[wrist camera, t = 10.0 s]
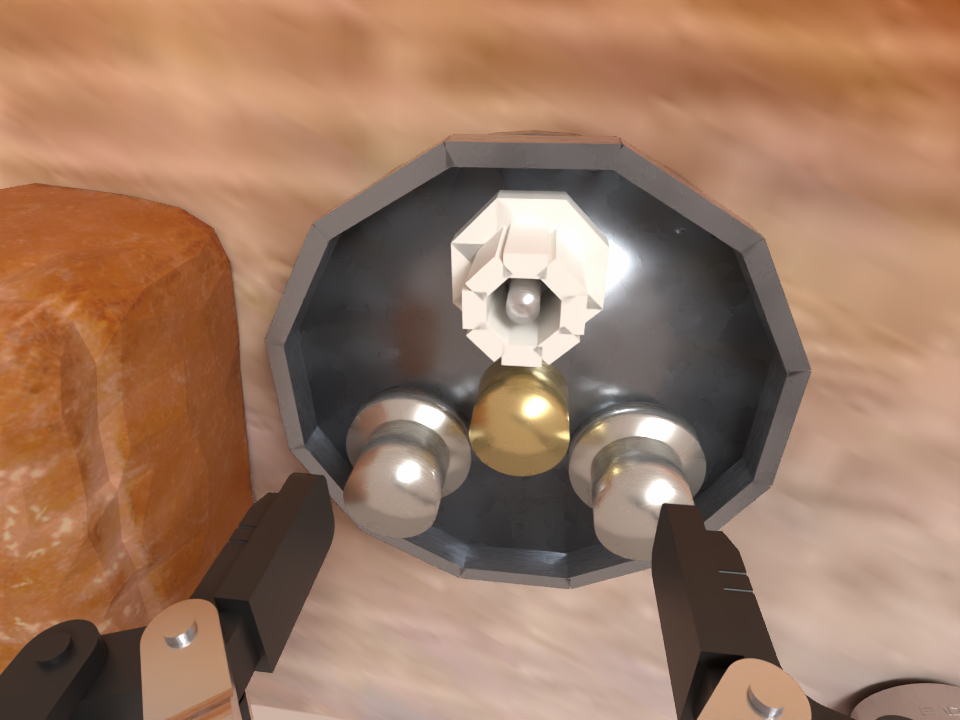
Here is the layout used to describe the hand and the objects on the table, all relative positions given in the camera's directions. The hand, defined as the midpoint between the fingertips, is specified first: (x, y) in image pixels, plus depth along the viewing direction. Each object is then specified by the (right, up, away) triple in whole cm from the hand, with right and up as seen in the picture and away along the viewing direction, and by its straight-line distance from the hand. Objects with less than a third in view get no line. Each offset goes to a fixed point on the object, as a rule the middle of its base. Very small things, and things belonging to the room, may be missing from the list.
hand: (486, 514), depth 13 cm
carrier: (+2, +3, +19) cm, 19 cm away
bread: (-22, +2, +23) cm, 32 cm away
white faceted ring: (+2, +8, +14) cm, 16 cm away
